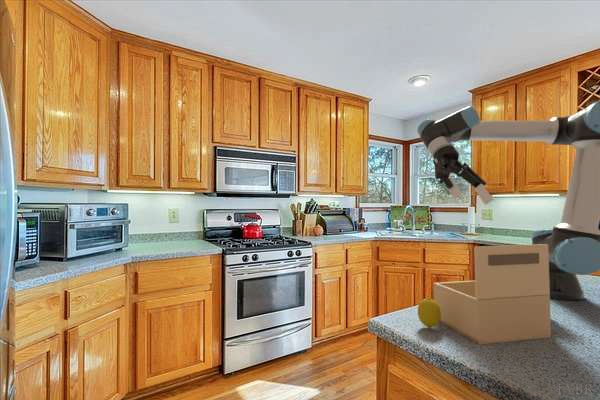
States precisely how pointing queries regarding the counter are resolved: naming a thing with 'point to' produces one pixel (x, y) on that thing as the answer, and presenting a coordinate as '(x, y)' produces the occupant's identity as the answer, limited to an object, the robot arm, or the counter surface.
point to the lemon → (429, 312)
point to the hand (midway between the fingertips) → (473, 199)
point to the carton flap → (511, 271)
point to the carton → (492, 314)
